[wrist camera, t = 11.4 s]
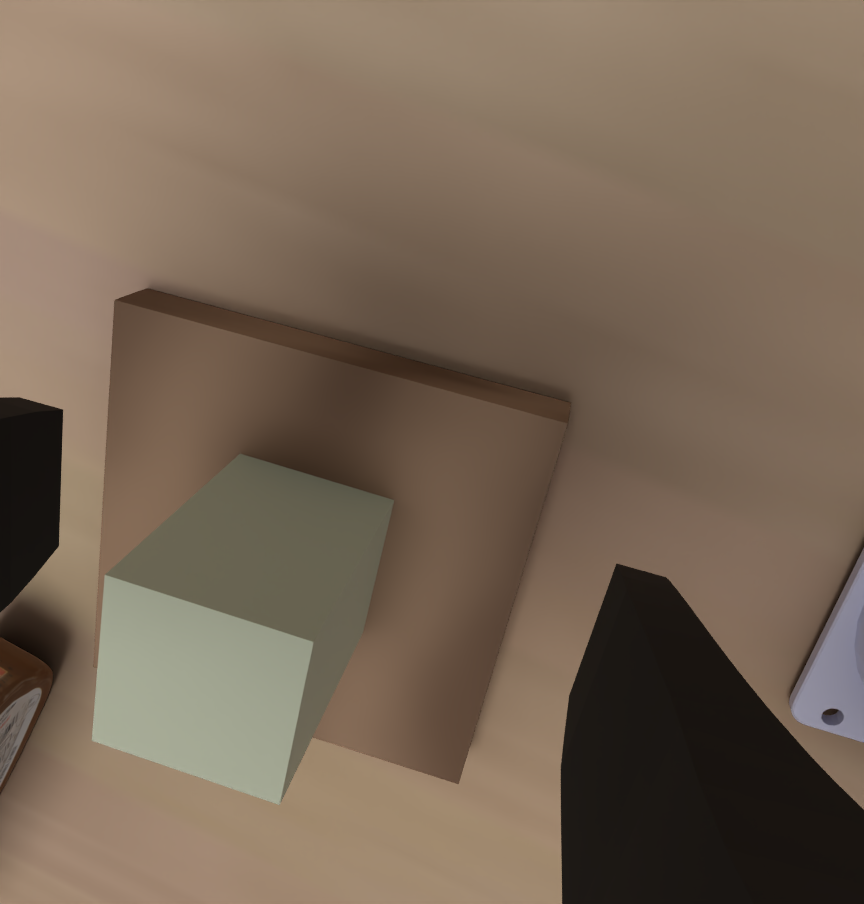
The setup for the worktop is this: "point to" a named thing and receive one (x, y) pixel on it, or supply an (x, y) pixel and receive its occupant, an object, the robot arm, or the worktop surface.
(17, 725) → the tin
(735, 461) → the worktop surface
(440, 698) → the base
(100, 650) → the block
